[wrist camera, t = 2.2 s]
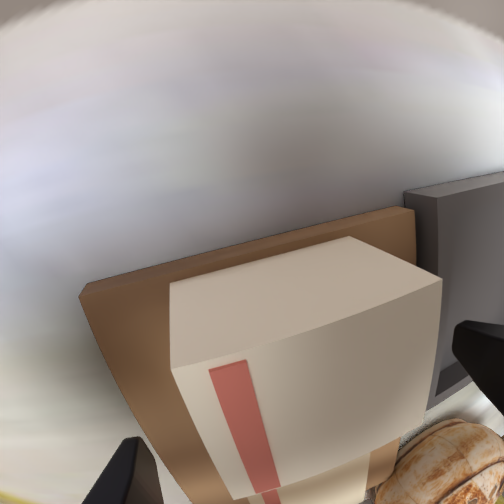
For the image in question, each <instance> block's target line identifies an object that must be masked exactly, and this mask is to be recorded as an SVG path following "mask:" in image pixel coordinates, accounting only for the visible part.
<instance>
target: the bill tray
mask: <svg viewBox="0 0 504 504" xmlns="http://www.w3.org/2000/svg"><path fill="white" fill-rule="evenodd" d="M404 200H405V208H407V209H412V210H414V211H415V230H416V266H417V267H419V268H421V269H423V270H425V271H427V272H429V273H431V274H433V275H436V276H438V277H440V278H442V279H443V281H442V299H441V312H440V323H439V332H438V341H437V348H436V356H435V363H434V369H433V375H432V381H431V386H430V392H429V397H428V402H427V406H426V411H427V410H429V409H431V408H432V407H434V406H436V405H437V404H439V403H440V402H442V401H444V400H445V399H447V398H448V397H450V396H451V395H453V394H454V393H456V392H457V391H459V390H460V389H462V388H463V387H465V386H466V385H468V384H469V383H471V382H472V381H473V380H472V378H471V377H470V376H469V374H468V373H467V372H466V370H465V369H464V368H463V366H462V365H461V364H460V362H459V361H458V360H457V359H456V357H455V356H454V355H453V353H452V340H453V333H454V328H455V326H456V325H457V324H459V323H460V322H462V321H464V320H472V321H478V322H486V323H493V324H500V325H504V172H498V173H493V174H488V175H483V176H478V177H473V178H468V179H462V180H457V181H453V182H448V183H443V184H438V185H433V186H428V187H423V188H418V189H414V190H409V191H404ZM426 411H425V412H426Z"/></svg>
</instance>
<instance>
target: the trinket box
mask: <svg viewBox="0 0 504 504" xmlns="http://www.w3.org/2000/svg"><path fill="white" fill-rule="evenodd" d="M503 490H504V435H503V436H502V437H500V436H499V435H498V434H496V433H495V432H494V431H493V430H491V429H489V428H488V427H486V426H484V425H481V424H476V423H467V422H466V421H464V420H463V419H458V418H454V419H448V420H444V421H442V422H440V423H438V424H436V425H434V426H432V427H430V428H429V429H427V430H425V431H424V432H422V433H421V434H419V435H418V436H416V437H415V438H414V439H412V440H411V441H410V442H408V443H407V444H406V445H405V446H404V447H403V448H402V449H400V450H399V451H398V452H397V457H396V461H395V466H394V470H393V474H392V476H391V477H390V478H389V479H388V480H386V481H384V482H382V483H380V484H378V485H376V486H375V493H376V498H375V502H374V504H494V503H495V502H496V500H497V499H498V497H499V496H500V495H501V494H502V492H503Z"/></svg>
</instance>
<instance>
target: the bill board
mask: <svg viewBox="0 0 504 504" xmlns="http://www.w3.org/2000/svg"><path fill="white" fill-rule="evenodd" d="M347 236H351V237H353V238H355V239H358V240H360V241H362V242H364V243H367V244H369V245H371V246H373V247H375V248H378V249H380V250H382V251H384V252H387V253H389V254H391V255H393V256H395V257H397V258H400V259H402V260H404V261H406V262H408V263H410V264H412V265H415V266H416V230H415V211H414V210H412V209H407V208H403V207H399V206H392V207H388V208H384V209H380V210H376V211H372V212H367V213H363V214H359V215H355V216H351V217H347V218H343V219H339V220H334V221H330V222H326V223H322V224H318V225H314V226H310V227H306V228H302V229H298V230H294V231H290V232H286V233H282V234H278V235H274V236H270V237H266V238H262V239H258V240H254V241H250V242H246V243H242V244H238V245H234V246H230V247H226V248H222V249H218V250H214V251H210V252H206V253H203V254H199V255H195V256H191V257H187V258H183V259H179V260H175V261H171V262H168V263H164V264H160V265H156V266H152V267H148V268H144V269H141V270H137V271H133V272H129V273H125V274H121V275H118V276H114V277H110V278H106V279H102V280H99V281H95V282H91V283H87V284H86V286H85V287H84V289H83V290H82V292H81V293H80V295H79V300H80V302H81V305H82V307H83V310H84V312H85V315H86V317H87V320H88V322H89V325H90V327H91V329H92V332H93V334H94V336H95V339H96V341H97V343H98V345H99V348H100V350H101V352H102V354H103V356H104V358H105V360H106V363H107V365H108V367H109V369H110V371H111V373H112V375H113V377H114V379H115V381H116V383H117V385H118V387H119V388H120V390H121V392H122V394H123V396H124V398H125V400H126V402H127V403H128V405H129V407H130V409H131V411H132V412H133V414H134V416H135V418H136V419H137V421H138V423H139V425H140V426H141V428H142V430H143V431H144V433H145V435H146V436H147V438H148V440H149V441H150V443H151V444H152V446H153V448H154V449H155V451H156V452H157V454H158V455H159V457H160V458H161V460H162V461H163V463H164V464H165V466H166V467H167V469H168V470H169V472H170V473H171V475H172V476H173V477H174V479H175V480H176V482H177V483H178V485H179V486H180V487H181V489H182V490H183V491H184V493H185V494H186V495H187V497H188V498H189V499H190V501H191V502H192V503H193V504H373V503H372V501H371V500H370V498H369V499H367V500H365V501H364V496H365V491H366V490H368V489H370V488H372V487H374V486H376V485H378V484H380V483H382V482H384V481H386V480H388V479H389V478H390V477H391V476H392V474H393V470H394V466H395V461H396V457H397V452H398V448H399V443H400V438H401V437H399V438H397V439H395V440H393V441H391V442H389V443H387V444H386V445H384V446H382V447H380V448H378V449H375V450H373V451H371V452H369V453H367V454H365V455H363V456H361V457H358V458H356V459H354V460H352V461H350V462H347V463H345V464H343V465H340V466H338V467H335V468H333V469H330V470H328V471H325V472H323V473H320V474H318V475H315V476H312V477H309V478H307V479H304V480H301V481H298V482H295V483H292V484H289V485H286V486H283V487H280V488H277V489H273V490H270V491H267V492H263V493H259V494H256V495H252V496H248V497H244V498H240V499H236V500H233V498H232V496H231V495H230V493H229V491H228V489H227V487H226V486H225V484H224V482H223V480H222V478H221V476H220V474H219V473H218V471H217V469H216V467H215V465H214V463H213V461H212V459H211V457H210V455H209V453H208V451H207V449H206V447H205V445H204V443H203V441H202V439H201V437H200V435H199V433H198V431H197V429H196V426H195V424H194V422H193V420H192V418H191V416H190V413H189V411H188V409H187V407H186V404H185V402H184V400H183V398H182V395H181V393H180V391H179V388H178V386H177V384H176V381H175V379H174V376H173V374H172V372H171V367H170V283H172V282H176V281H180V280H184V279H187V278H191V277H195V276H199V275H203V274H207V273H211V272H214V271H218V270H222V269H226V268H230V267H234V266H237V265H241V264H245V263H249V262H253V261H257V260H260V259H264V258H268V257H272V256H276V255H279V254H283V253H287V252H291V251H294V250H298V249H302V248H306V247H309V246H313V245H317V244H321V243H324V242H328V241H332V240H336V239H339V238H343V237H347Z"/></svg>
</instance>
